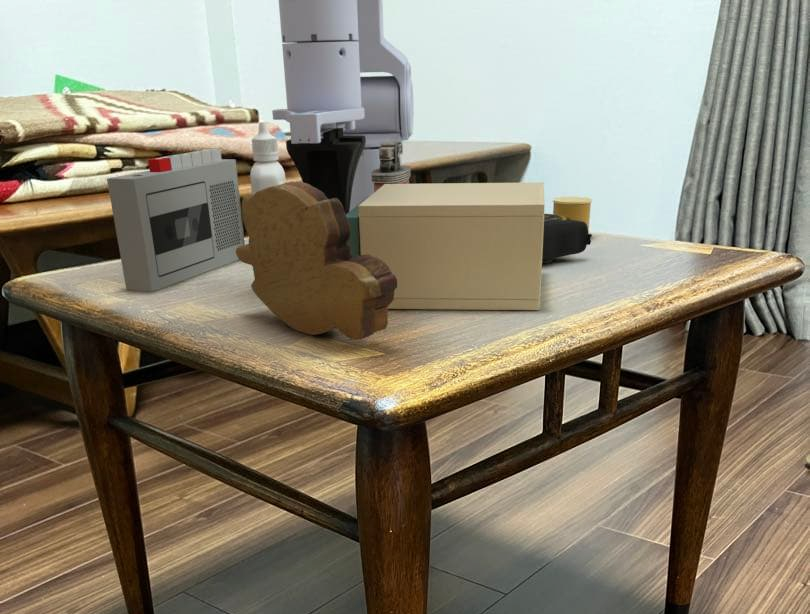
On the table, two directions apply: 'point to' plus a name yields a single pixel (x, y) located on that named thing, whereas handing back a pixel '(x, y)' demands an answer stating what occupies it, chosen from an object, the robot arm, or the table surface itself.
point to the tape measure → (563, 237)
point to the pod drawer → (354, 231)
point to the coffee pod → (573, 208)
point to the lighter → (390, 166)
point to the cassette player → (177, 218)
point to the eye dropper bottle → (265, 161)
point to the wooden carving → (312, 263)
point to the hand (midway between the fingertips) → (332, 233)
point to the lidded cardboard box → (458, 243)
